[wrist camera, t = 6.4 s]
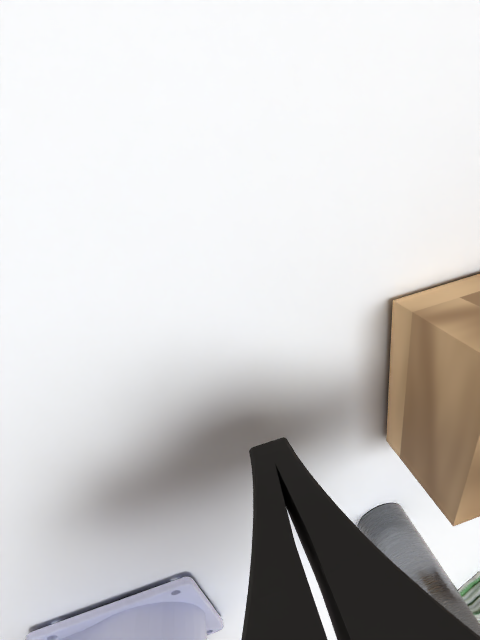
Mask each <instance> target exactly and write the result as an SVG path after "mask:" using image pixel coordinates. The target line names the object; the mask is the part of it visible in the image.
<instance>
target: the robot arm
mask: <svg viewBox="0 0 480 640" xmlns="http://www.w3.org/2000/svg"><path fill="white" fill-rule="evenodd" d="M249 453H250V458H251V465H252V475H253V536H252V554H251V566H250V577H249V586H248V595H247V603H246V611H245V619H244V626H243V633H242V640H327V637H326V634H325V631H324V628H323V625H322V622H321V619H320V616H319V613H318V610H317V607H316V604H315V601H314V598H313V596H312V593H311V590H310V587H309V584H308V581H307V578H306V575H305V572H304V569H303V566H302V563H301V560H300V557H299V554H298V551H297V548H296V545H295V541H294V538H293V534H292V529H291V525H290V521H289V517H288V513H287V510H288V512H289V515H290V517H291V520H292V522H293V524H294V527H295V529H296V532H297V534H298V536H299V539H300V541H301V544H302V546H303V548H304V551H305V553H306V555H307V558H308V560H309V563H310V565H311V567H312V570H313V572H314V575H315V577H316V580H317V582H318V585H319V588H320V590H321V593H322V596H323V599H324V602H325V604H326V607H327V610H328V613H329V616H330V619H331V622H332V625H333V628H334V631H335V634H336V637H337V640H480V636H479V635H477V634H476V633H475V632H474V631H472V630H471V629H470V628H469V627H467V626H466V625H465V624H464V623H462V622H461V621H460V620H459V619H458V618H456V617H455V616H454V615H453V614H452V613H450V612H449V611H448V610H447V609H446V608H444V607H443V606H442V605H441V604H440V603H438V602H437V601H436V600H435V599H434V598H433V597H431V596H430V595H429V594H428V593H427V592H426V591H425V590H423V589H422V588H421V587H420V586H419V585H418V584H417V583H416V582H414V581H413V580H412V579H411V578H410V577H409V576H408V575H407V574H405V573H404V572H403V571H402V570H401V569H400V568H399V567H397V566H396V565H395V564H394V563H393V562H392V561H391V560H390V559H389V558H388V557H387V556H386V555H385V554H384V553H383V552H382V551H381V550H379V549H378V548H377V547H376V546H375V545H374V544H373V543H372V542H371V541H370V540H369V539H368V538H367V537H366V536H365V535H364V534H363V533H362V532H361V531H360V530H359V529H358V528H357V527H356V526H355V525H354V523H353V522H352V521H351V520H350V519H349V518H348V517H347V516H346V515H345V514H344V513H343V512H342V511H341V509H340V508H339V507H338V506H337V505H336V504H335V503H334V502H333V500H332V499H331V498H330V497H329V496H328V495H327V494H326V492H325V491H324V490H323V489H322V487H321V486H320V485H319V484H318V483H317V481H316V480H315V479H314V478H313V476H312V475H311V474H310V473H309V471H308V470H307V469H306V467H305V466H304V465H303V463H302V462H301V461H300V459H299V458H298V456H297V455H296V453H295V452H294V450H293V449H292V447H291V445H290V444H289V442H288V440H287V439H286V438H284V437H283V438H280V439H277V440H274V441H271V442H268V443H265V444H262V445H259V446H256V447H253V448H251V449H250V450H249ZM286 508H287V509H286ZM222 628H223V620H222V618H221V617H220V616H219V614H218V613H217V612H216V610H215V609H214V607H213V606H212V605H211V603H210V602H209V601H208V599H207V598H206V596H205V595H204V594H203V592H202V591H201V590H200V588H199V587H198V586H197V584H196V583H195V581H194V580H193V579H192V578H191V577H182V578H179V579H177V580H174V581H171V582H168V583H165V584H163V585H160V586H157V587H154V588H152V589H149V590H146V591H143V592H140V593H138V594H135V595H132V596H129V597H127V598H124V599H121V600H118V601H115V602H113V603H110V604H107V605H104V606H102V607H99V608H96V609H93V610H90V611H88V612H85V613H82V614H79V615H77V616H74V617H71V618H68V619H66V620H63V621H60V622H57V623H54V624H52V625H49V626H46V627H43V628H41V629H38V630H35V631H32V632H30V633H29V634H28V635H27V636H26V638H25V640H207V635H209V634H212V633H215V632H217V631H219V630H221V629H222Z"/></svg>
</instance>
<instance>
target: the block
mask: <svg viewBox="0 0 480 640" xmlns="http://www.w3.org/2000/svg"><path fill="white" fill-rule="evenodd" d="M386 441H387V442H388V443H389V445H390V446H391V447H392V449H393V450H394V451H395V452H396V454H397V455H398V456H399V457H400V459H401V460H402V461H403V463H404V464H405V465H406V466H407V468H408V469H409V470H410V472H411V473H412V474H413V475H414V477H415V478H416V479H417V481H418V482H419V483H420V484H421V486H422V487H423V488H424V489H425V491H426V492H427V493H428V495H429V496H430V497H431V498H432V500H433V501H434V502H435V504H436V505H437V506H438V507H439V509H440V510H441V511H442V513H443V514H444V515H445V516H446V518H447V519H448V520H449V521H450V523H451V524H452V525H453V526H455V525H458V524H461V523H463V522H466V521H469V520H471V519H474V518H477V517H479V516H480V274H477V275H474V276H470V277H467V278H464V279H461V280H457V281H454V282H451V283H448V284H444V285H441V286H438V287H435V288H431V289H428V290H425V291H422V292H418V293H415V294H412V295H409V296H405V297H402V298H399V299H396V300H393V308H392V329H391V351H390V373H389V394H388V416H387V437H386Z"/></svg>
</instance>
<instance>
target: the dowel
mask: <svg viewBox="0 0 480 640" xmlns="http://www.w3.org/2000/svg"><path fill="white" fill-rule="evenodd" d="M359 529H360V530H361V532H362V533H363V534H364V535H365V536H366V537H367V538H368V539H369V540H370V541H371V542H372V543H373V544H374V545H375V546H376V547H377V548H378V549H379V550H381V551H382V552H383V553H384V554H385V555H386V556H387V557H388V558H389V559H390V560H391V561H392V562H393V563H394V564H395V565H396V566H397V567H399V568H400V569H401V570H402V571H403V572H404V573H405V574H407V575H408V576H409V577H410V578H411V579H412V580H413V581H414V582H416V583H417V584H418V585H419V586H420V587H421V588H422V589H423V590H425V591H426V592H427V593H428V594H429V595H430V596H431V597H433V598H434V599H435V600H436V601H437V602H438V603H440V604H441V605H442V606H443V607H444V608H446V609H447V610H448V611H449V612H450V613H452V614H453V615H454V616H455V617H456V618H458V619H459V620H460V621H461V622H462V623H464V624H465V625H466V626H467V627H469V628H470V629H471V630H472V631H474V632H475V633H476V634H477V635H479V636H480V623H479V622H478V620H477V619H476V617H475V616H474V614H473V613H472V611H471V610H470V608H469V607H468V605H467V604H466V602H465V601H464V599H463V598H462V597H461V595H460V594H459V592H458V591H457V589H456V588H455V586H454V585H453V583H452V582H451V580H450V579H449V577H448V576H447V574H446V573H445V571H444V570H443V568H442V567H441V565H440V564H439V562H438V561H437V559H436V558H435V556H434V555H433V553H432V552H431V550H430V549H429V547H428V546H427V544H426V543H425V541H424V540H423V538H422V537H421V535H420V534H419V533H418V531H417V530H416V528H415V527H414V525H413V524H412V522H411V521H410V519H409V518H408V516H407V515H406V513H405V512H404V510H403V509H402V507H401V506H400V505H399V504H396V503H389V504H384V505H381V506H378V507H376V508H374V509H372V510H371V511H369V512H368V513H367V514H365V515H364V516H363V517H362V519H361V520H360V522H359Z"/></svg>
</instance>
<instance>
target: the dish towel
mask: <svg viewBox="0 0 480 640" xmlns="http://www.w3.org/2000/svg"><path fill="white" fill-rule="evenodd" d="M458 592H459V594H460V595H461V597H462V598H463V599H464V601H465V602H466V604H467V605H468V607H469V608H470V610H471V611H472V613H473V614H474V616H475V617H476V619H477V620H478V622H479V623H480V571H479V572H478V573H477V574H476V575H475V576H474V577H472V578H471V579H470V580H469V581H467V582H466V583H465V584H464V585H463V586H462V587H461V588H460V589H459V590H458Z"/></svg>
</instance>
